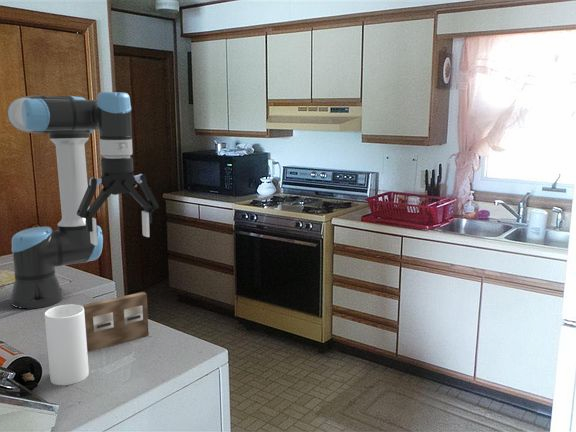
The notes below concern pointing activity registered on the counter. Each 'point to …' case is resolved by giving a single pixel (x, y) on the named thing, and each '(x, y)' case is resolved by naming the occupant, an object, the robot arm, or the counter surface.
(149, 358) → the counter surface
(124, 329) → the label board
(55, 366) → the cup
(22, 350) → the counter surface
